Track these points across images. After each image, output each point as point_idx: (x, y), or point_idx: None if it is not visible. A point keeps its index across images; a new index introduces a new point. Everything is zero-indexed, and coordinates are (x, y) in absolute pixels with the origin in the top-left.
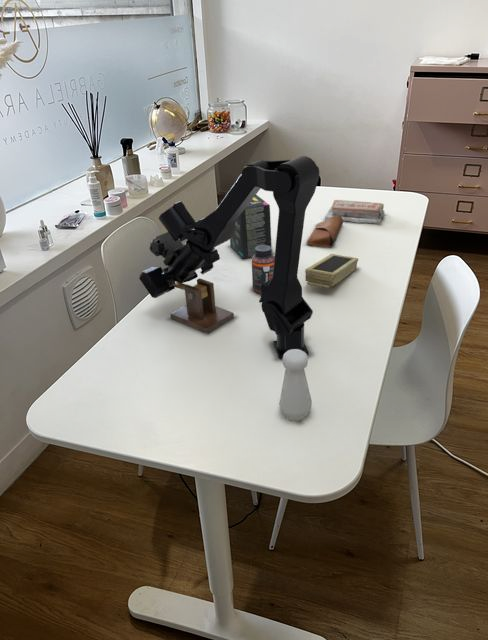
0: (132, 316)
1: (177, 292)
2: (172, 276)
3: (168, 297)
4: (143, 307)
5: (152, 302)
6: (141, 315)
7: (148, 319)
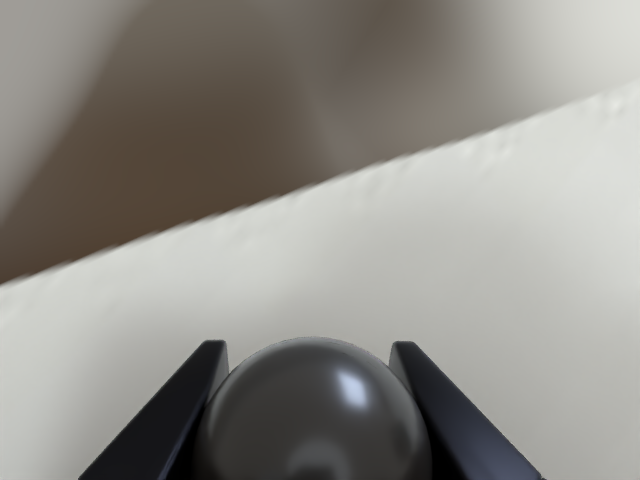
0: (5, 296)
1: (486, 290)
2: (443, 471)
3: (387, 294)
4: (161, 257)
5: (257, 253)
6: (51, 343)
7: (23, 447)
